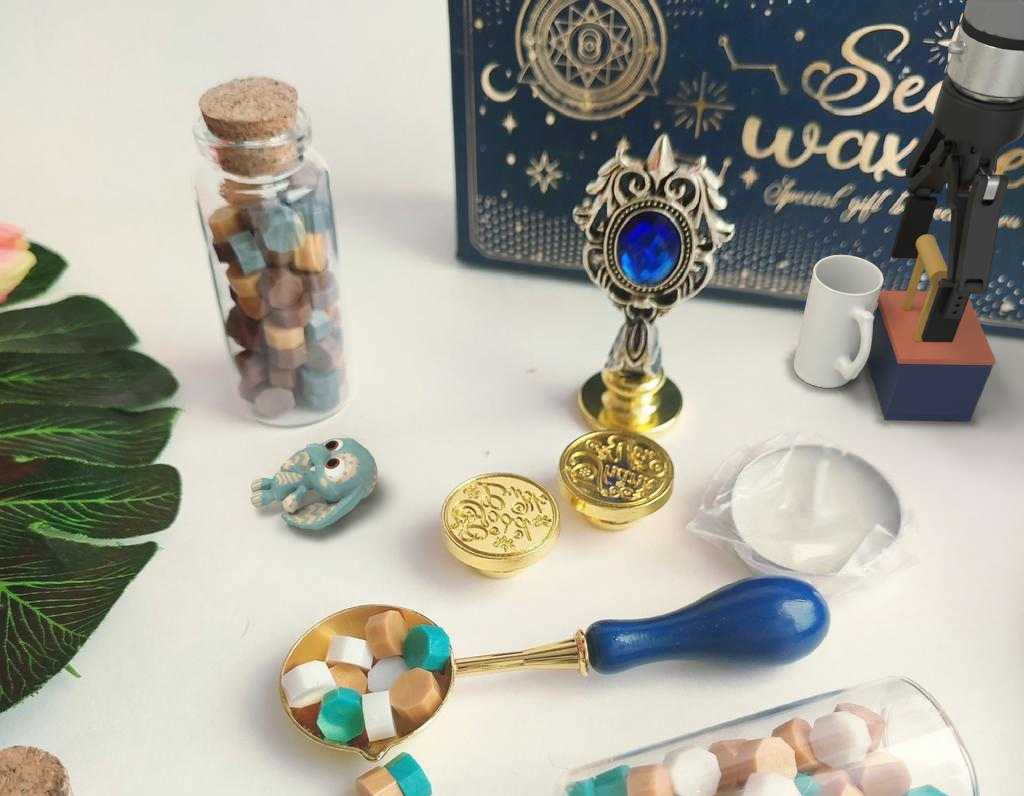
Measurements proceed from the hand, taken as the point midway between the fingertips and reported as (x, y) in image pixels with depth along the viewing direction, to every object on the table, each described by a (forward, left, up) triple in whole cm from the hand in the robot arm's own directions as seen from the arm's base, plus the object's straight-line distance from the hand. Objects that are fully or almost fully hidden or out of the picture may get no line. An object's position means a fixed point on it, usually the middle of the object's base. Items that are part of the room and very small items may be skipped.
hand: (920, 296), depth 104 cm
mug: (+6, -1, -11) cm, 13 cm away
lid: (-2, 0, -4) cm, 5 cm away
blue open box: (-3, 0, -11) cm, 11 cm away
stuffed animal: (+57, +18, -11) cm, 61 cm away
